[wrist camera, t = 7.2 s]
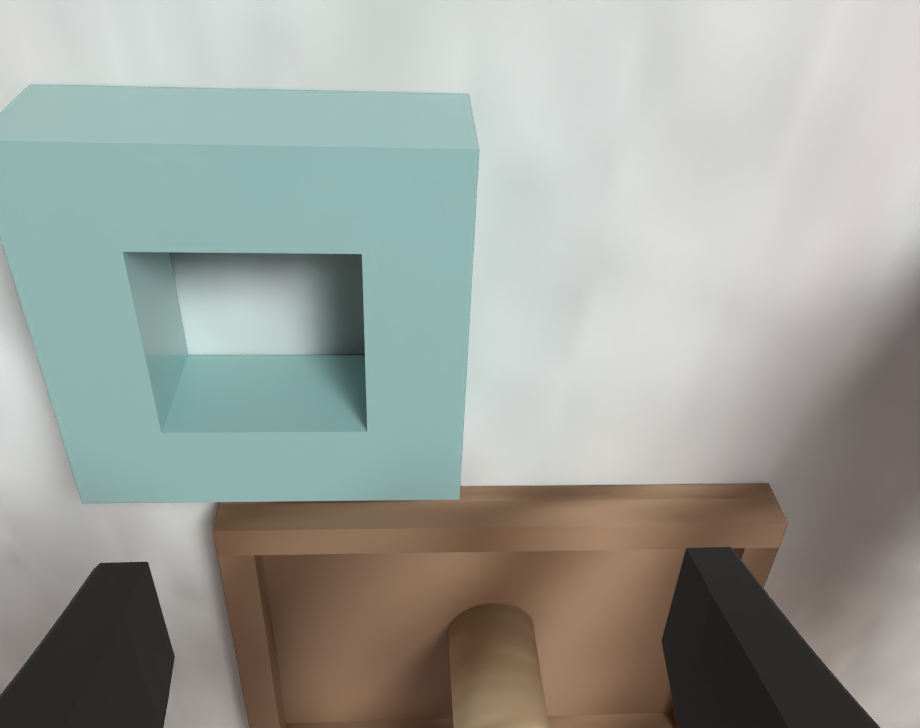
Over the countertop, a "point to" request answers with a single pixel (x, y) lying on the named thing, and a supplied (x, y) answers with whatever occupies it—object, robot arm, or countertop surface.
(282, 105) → the teal square ring
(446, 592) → the tray
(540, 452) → the countertop surface
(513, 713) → the pin
